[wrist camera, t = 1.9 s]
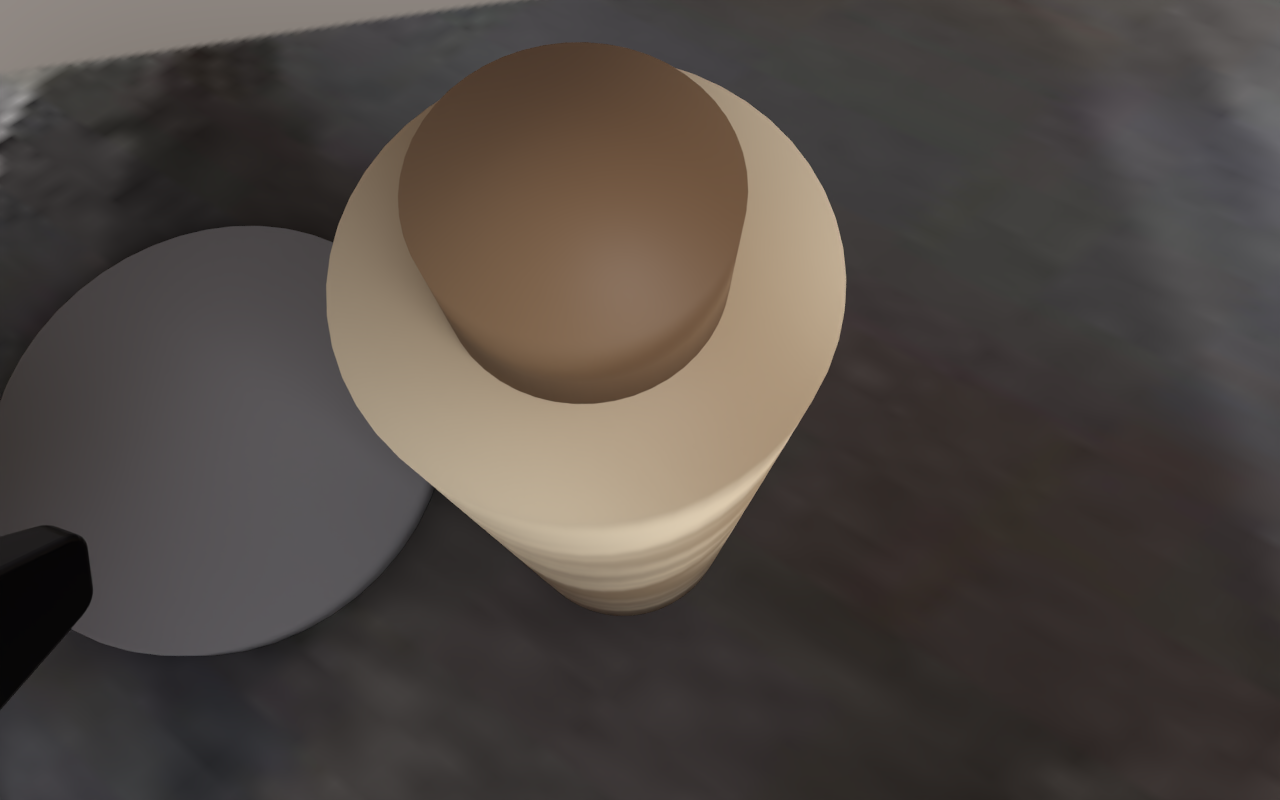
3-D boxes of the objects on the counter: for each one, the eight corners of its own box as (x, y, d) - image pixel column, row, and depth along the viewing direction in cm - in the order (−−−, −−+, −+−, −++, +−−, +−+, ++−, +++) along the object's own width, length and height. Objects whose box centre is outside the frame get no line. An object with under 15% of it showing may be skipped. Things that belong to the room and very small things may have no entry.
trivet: (206, 760, 18) (182, 765, 17) (-71, 456, 21) (-105, 445, 20) (535, 410, 21) (529, 398, 20) (256, 174, 23) (240, 153, 22)
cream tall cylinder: (634, 661, 19) (599, 643, 5) (482, 523, 20) (128, 214, 6) (764, 501, 20) (1010, 153, 6) (614, 379, 21) (554, -141, 8)
